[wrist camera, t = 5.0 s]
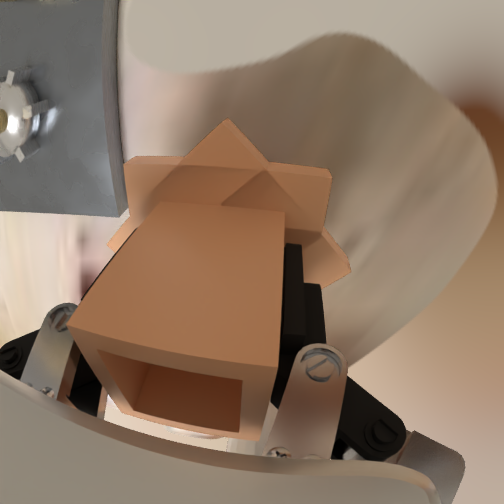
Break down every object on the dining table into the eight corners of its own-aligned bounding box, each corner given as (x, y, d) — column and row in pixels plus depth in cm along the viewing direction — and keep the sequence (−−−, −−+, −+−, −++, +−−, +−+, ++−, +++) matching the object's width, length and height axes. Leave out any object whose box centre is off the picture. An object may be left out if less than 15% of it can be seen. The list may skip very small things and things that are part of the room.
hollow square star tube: (375, 136, 9) (497, 247, 3) (322, 336, 14) (326, 464, 9) (101, 121, 9) (-46, 199, 4) (136, 311, 15) (85, 419, 9)
